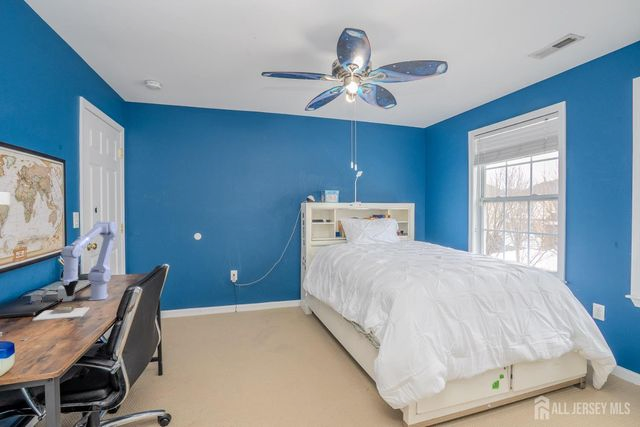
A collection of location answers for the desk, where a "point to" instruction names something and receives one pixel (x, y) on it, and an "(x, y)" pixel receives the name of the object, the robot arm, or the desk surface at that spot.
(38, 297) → the lighter
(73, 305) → the brown wooden block
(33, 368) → the desk surface
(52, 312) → the mat
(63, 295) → the skincare box
